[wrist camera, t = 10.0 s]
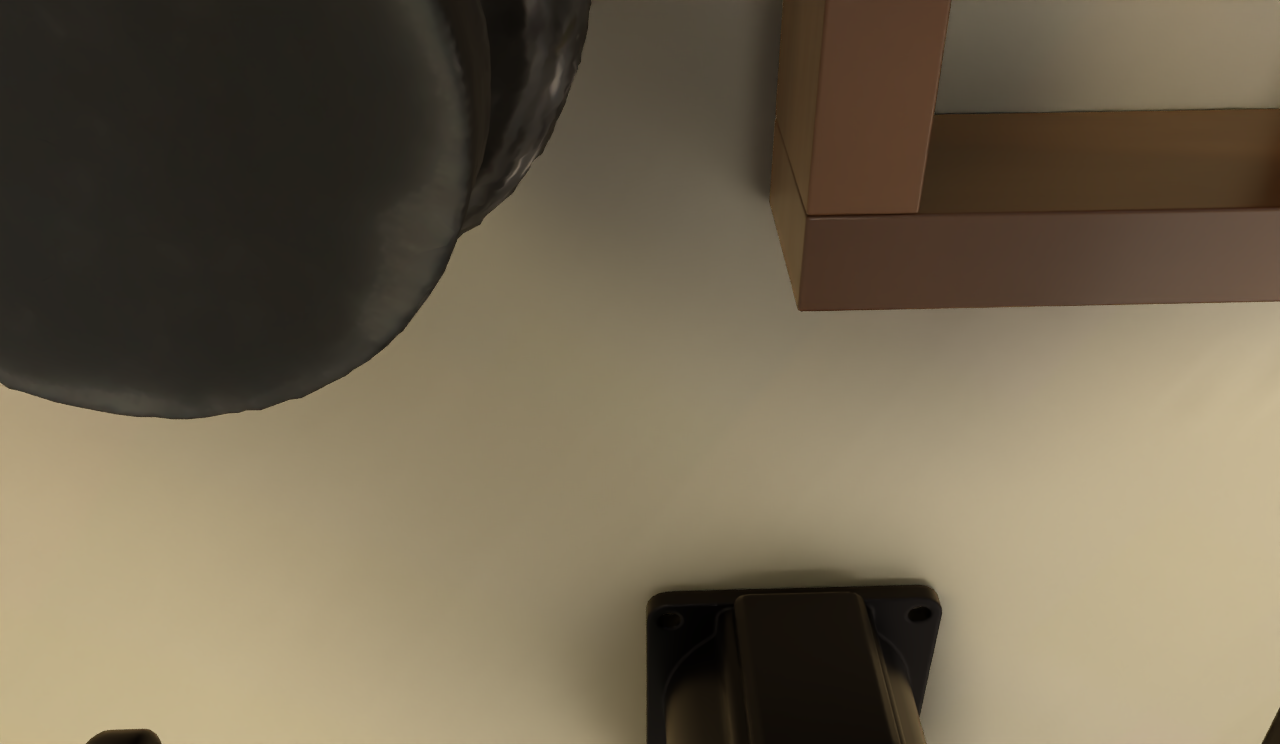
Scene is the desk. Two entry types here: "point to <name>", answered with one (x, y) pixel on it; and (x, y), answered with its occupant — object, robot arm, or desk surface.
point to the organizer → (1001, 184)
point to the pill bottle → (250, 183)
